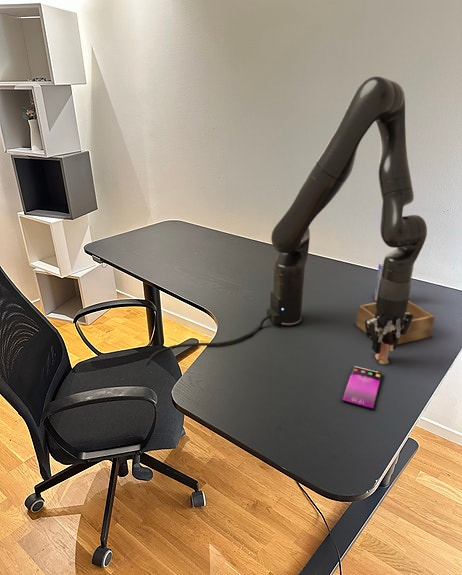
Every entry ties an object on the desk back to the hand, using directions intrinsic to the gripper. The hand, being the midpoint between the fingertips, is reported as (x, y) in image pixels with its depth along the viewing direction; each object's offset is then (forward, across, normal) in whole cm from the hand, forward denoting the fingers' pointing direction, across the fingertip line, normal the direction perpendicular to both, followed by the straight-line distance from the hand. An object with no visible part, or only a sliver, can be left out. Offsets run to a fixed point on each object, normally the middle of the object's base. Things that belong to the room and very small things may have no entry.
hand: (384, 349), depth 119 cm
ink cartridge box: (+4, -26, -30) cm, 40 cm away
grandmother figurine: (+4, 0, 0) cm, 4 cm away
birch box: (+4, -13, -12) cm, 18 cm away
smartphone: (+4, +12, +8) cm, 15 cm away
